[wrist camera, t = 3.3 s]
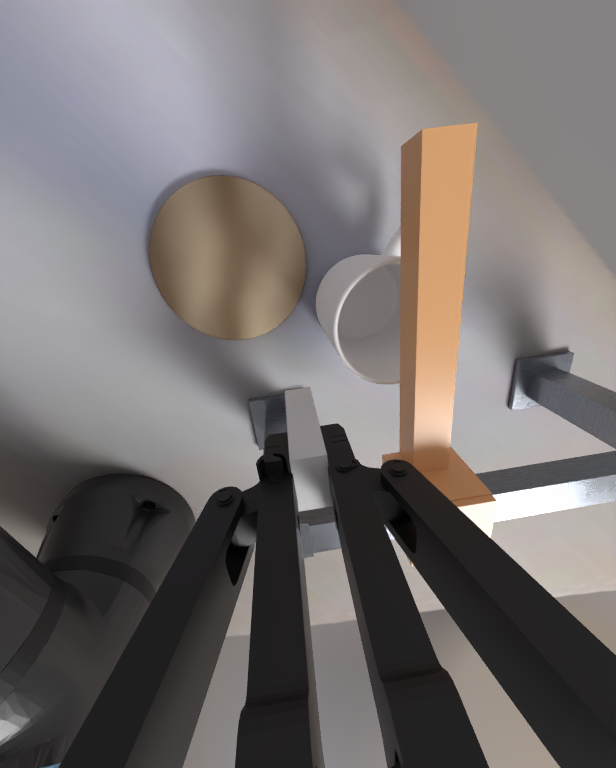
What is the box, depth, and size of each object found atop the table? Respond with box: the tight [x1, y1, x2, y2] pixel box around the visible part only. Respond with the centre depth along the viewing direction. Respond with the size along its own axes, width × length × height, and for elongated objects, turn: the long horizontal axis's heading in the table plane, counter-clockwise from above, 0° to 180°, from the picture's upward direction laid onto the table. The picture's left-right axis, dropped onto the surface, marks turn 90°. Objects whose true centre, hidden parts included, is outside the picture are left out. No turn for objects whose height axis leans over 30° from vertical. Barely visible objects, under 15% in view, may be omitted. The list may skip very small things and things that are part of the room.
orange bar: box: [382, 123, 497, 566], centre depth 17 cm, size 5×23×6 cm, turn 7°
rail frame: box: [249, 351, 616, 558], centre depth 27 cm, size 35×6×16 cm, turn 97°
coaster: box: [150, 175, 306, 340], centre depth 27 cm, size 13×13×1 cm
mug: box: [316, 227, 401, 384], centre depth 24 cm, size 12×8×10 cm
